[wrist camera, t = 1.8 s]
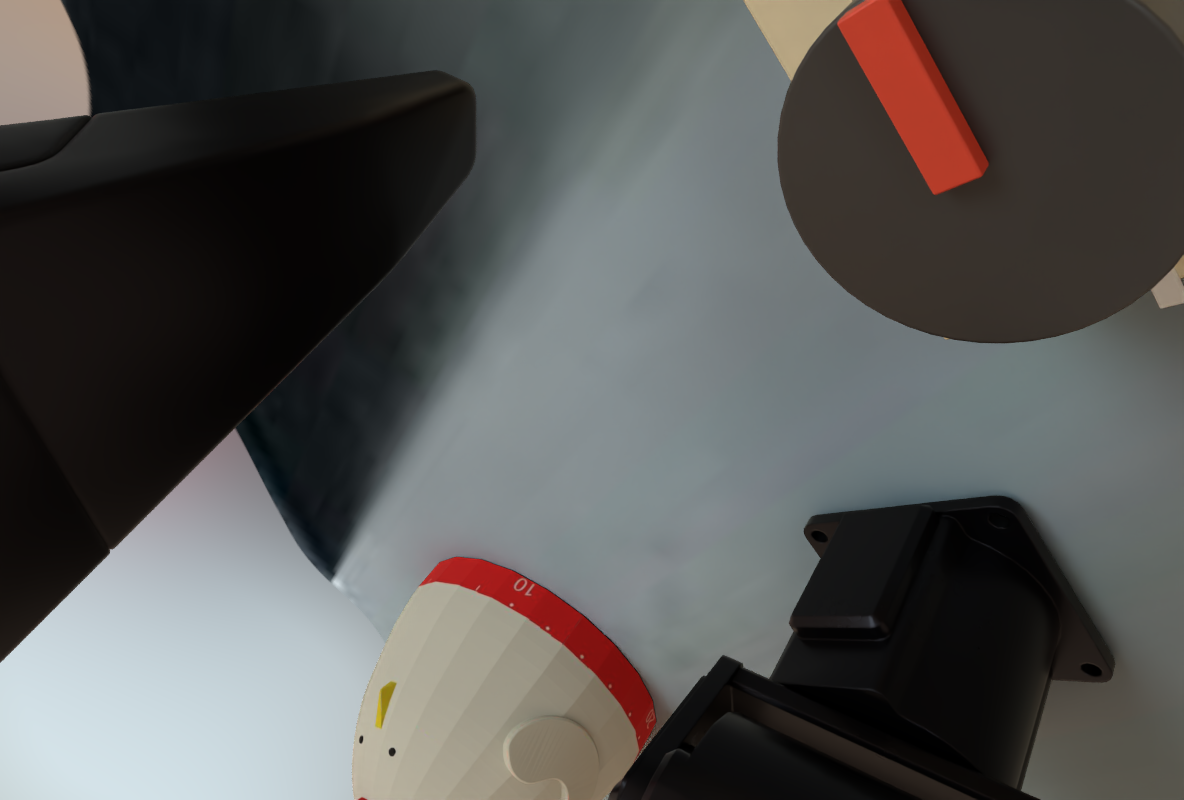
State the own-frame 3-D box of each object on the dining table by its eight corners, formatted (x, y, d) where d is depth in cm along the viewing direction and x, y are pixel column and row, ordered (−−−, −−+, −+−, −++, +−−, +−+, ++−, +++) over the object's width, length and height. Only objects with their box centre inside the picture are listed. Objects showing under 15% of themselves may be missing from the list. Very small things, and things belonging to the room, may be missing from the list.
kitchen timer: (567, 568, 38) (319, 900, 29) (701, 766, 43) (527, 1094, 34) (390, 549, 47) (164, 792, 39) (517, 712, 53) (346, 957, 44)
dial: (1312, 112, 11) (1290, 301, 8) (966, 234, 14) (879, 393, 11) (1168, -243, 9) (1093, -145, 7) (827, -14, 13) (697, 104, 10)
